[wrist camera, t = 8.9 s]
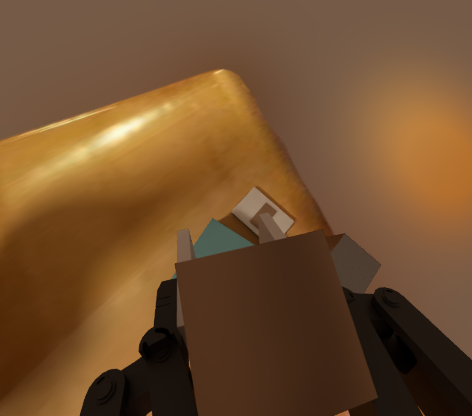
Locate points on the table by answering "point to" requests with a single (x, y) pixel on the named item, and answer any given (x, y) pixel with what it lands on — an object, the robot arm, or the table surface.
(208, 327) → the walnut block
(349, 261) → the grey metal block
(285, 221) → the card
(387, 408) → the robot arm
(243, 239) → the teal pedestal
